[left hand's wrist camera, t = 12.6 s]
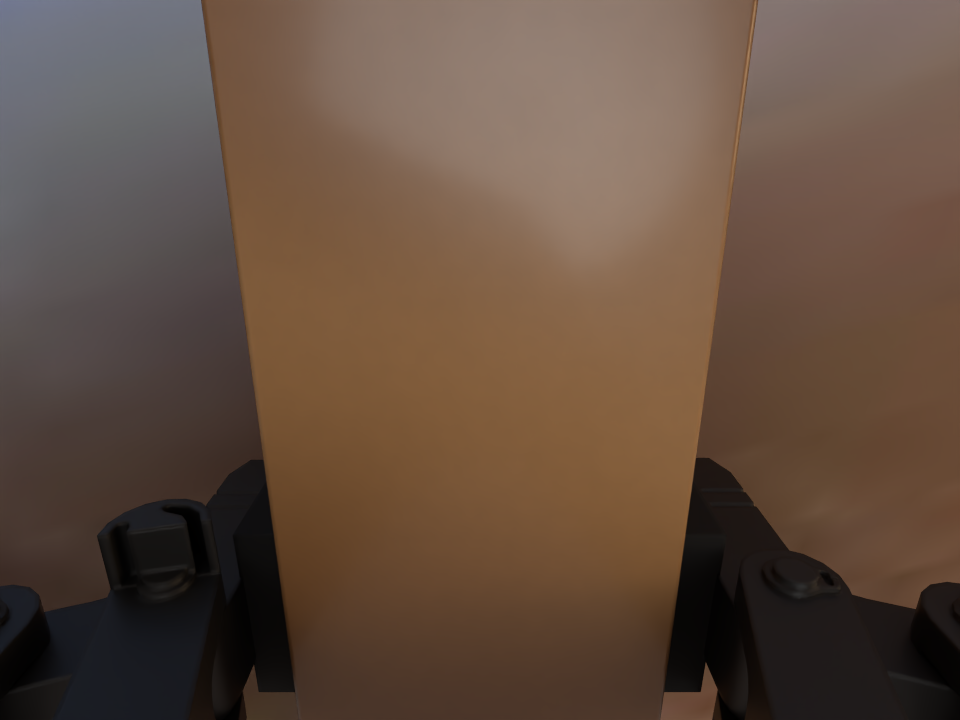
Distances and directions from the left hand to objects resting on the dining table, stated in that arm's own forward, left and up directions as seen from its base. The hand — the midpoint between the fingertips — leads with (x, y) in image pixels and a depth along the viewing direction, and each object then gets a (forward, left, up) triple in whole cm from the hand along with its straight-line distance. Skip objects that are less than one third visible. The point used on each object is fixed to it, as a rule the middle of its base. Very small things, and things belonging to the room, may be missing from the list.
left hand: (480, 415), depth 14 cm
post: (-20, +15, -1) cm, 25 cm away
